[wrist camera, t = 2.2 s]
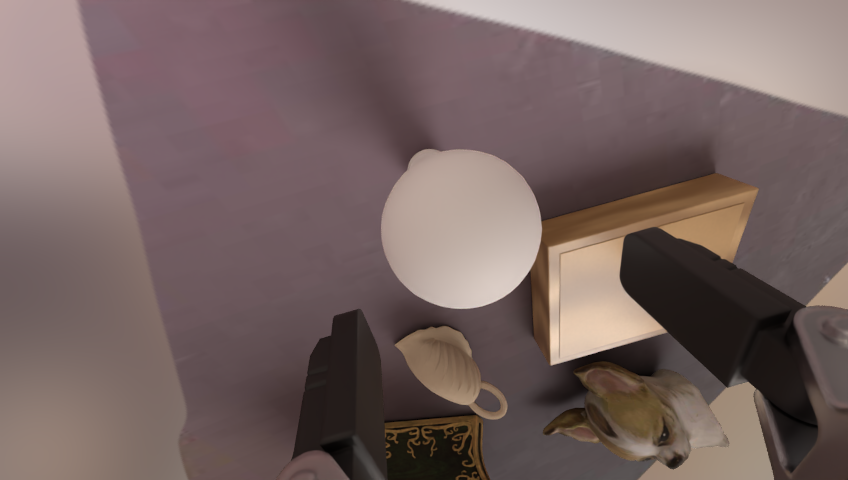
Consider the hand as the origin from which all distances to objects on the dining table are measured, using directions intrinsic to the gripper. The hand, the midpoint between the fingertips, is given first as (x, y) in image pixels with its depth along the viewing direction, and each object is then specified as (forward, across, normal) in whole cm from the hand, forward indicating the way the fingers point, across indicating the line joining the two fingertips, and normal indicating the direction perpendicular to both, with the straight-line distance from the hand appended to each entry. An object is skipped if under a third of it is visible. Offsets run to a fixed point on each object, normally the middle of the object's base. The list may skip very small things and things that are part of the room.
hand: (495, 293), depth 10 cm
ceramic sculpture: (+12, -14, +28) cm, 33 cm away
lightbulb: (+12, 0, 0) cm, 12 cm away
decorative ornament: (+12, +2, +16) cm, 20 cm away
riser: (+12, -13, +12) cm, 21 cm away
